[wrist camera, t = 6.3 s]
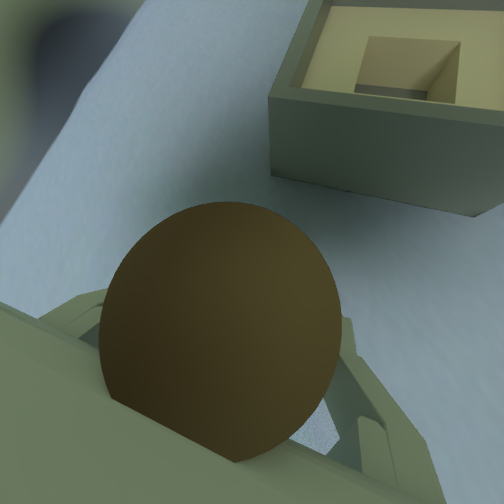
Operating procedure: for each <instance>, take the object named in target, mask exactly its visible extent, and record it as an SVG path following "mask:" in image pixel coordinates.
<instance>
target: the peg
mask: <svg viewBox="0 0 504 504" xmlns="http://www.w3.org/2000/svg"><path fill="white" fill-rule="evenodd" d="M341 338H342V315H341V307H340V299H339V296H338V292H337V288H336V284H335V281H334V279H333V276H332V274H331V271H330V269H329V267H328V265H327V263H326V261H325V260H324V258H323V256H322V254H321V253H320V252H319V250H318V249H317V247H316V246H315V245H314V243H313V242H312V241H311V240H310V239H309V238H308V237H307V236H306V235H305V234H304V233H303V232H302V231H301V230H300V229H299V228H298V227H296V226H295V225H294V224H293V223H291V222H290V221H288V220H287V219H285V218H284V217H282V216H280V215H279V214H276V213H274V212H272V211H270V210H268V209H265V208H262V207H259V206H255V205H252V204H246V203H241V202H213V203H207V204H202V205H198V206H194V207H191V208H188V209H185V210H183V211H181V212H178V213H176V214H174V215H172V216H170V217H168V218H167V219H165V220H163V221H162V222H160V223H159V224H157V225H156V226H155V227H153V228H152V229H151V230H150V231H148V232H147V233H146V234H145V235H144V236H143V237H142V238H141V239H140V240H139V241H138V242H137V243H136V244H135V245H134V246H133V247H132V248H131V250H130V251H129V252H128V254H127V255H126V256H125V258H124V259H123V261H122V262H121V264H120V266H119V267H118V269H117V271H116V272H115V274H114V277H113V279H112V281H111V283H110V285H109V288H108V291H107V293H106V296H105V299H104V303H103V307H102V312H101V316H100V325H99V355H100V363H101V369H102V373H103V376H104V380H105V384H106V386H107V389H108V391H109V394H110V396H111V399H113V400H115V401H117V402H119V403H121V404H123V405H125V406H127V407H129V408H130V409H132V410H134V411H136V412H138V413H140V414H142V415H144V416H146V417H148V418H149V419H151V420H153V421H155V422H157V423H159V424H161V425H163V426H165V427H167V428H168V429H170V430H172V431H174V432H176V433H178V434H180V435H182V436H184V437H186V438H188V439H189V440H191V441H193V442H195V443H197V444H199V445H201V446H203V447H205V448H207V449H208V450H210V451H212V452H214V453H216V454H218V455H220V456H222V457H224V458H226V459H227V460H229V461H231V462H233V463H236V462H240V461H244V460H247V459H251V458H254V457H256V456H258V455H261V454H263V453H265V452H267V451H270V450H271V449H273V448H275V447H276V446H278V445H279V444H281V443H282V442H284V441H285V440H287V439H288V438H289V437H290V436H291V435H293V434H294V433H295V432H296V431H297V430H298V429H299V428H300V427H301V426H303V424H304V423H305V422H306V421H307V419H308V418H309V417H310V416H311V415H312V413H313V412H314V411H315V410H316V408H317V407H318V405H319V403H320V402H321V400H322V398H323V397H324V395H325V393H326V391H327V389H328V387H329V384H330V382H331V380H332V377H333V375H334V372H335V368H336V365H337V361H338V358H339V353H340V346H341Z"/></svg>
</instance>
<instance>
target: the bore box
mask: <svg viewBox="0 0 504 504" xmlns="http://www.w3.org/2000/svg"><path fill="white" fill-rule="evenodd" d="M268 109H269V134H270V160H271V175H273V176H278V177H283V178H288V179H292V180H297V181H302V182H307V183H312V184H316V185H321V186H326V187H331V188H336V189H340V190H345V191H350V192H355V193H359V194H364V195H369V196H374V197H379V198H383V199H388V200H393V201H398V202H403V203H407V204H412V205H417V206H422V207H427V208H431V209H436V210H441V211H446V212H451V213H455V214H460V215H465V216H470V217H476V216H478V215H480V214H482V213H484V212H486V211H488V210H490V209H492V208H494V207H495V206H497V205H499V204H501V203H503V202H504V0H309V1H308V4H307V6H306V8H305V11H304V13H303V15H302V18H301V20H300V23H299V25H298V27H297V30H296V32H295V34H294V37H293V39H292V41H291V44H290V46H289V48H288V51H287V53H286V55H285V58H284V60H283V62H282V65H281V67H280V70H279V72H278V74H277V77H276V79H275V81H274V84H273V86H272V88H271V91H270V93H269V95H268Z"/></svg>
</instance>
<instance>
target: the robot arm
mask: <svg viewBox="0 0 504 504" xmlns="http://www.w3.org/2000/svg"><path fill="white" fill-rule="evenodd" d="M107 291H108V288H107V289H102V290H98V291H94V292H90V293H86V294H81V295H78V296H76V297H74V298H73V299H71V300H69V301H67V302H66V303H64V304H62V305H61V306H59V307H57V308H55V309H54V310H52V311H50V312H49V313H47V314H45V315H43V316H42V317H40V318H38V319H36V318H34V317H32V316H30V315H28V314H26V313H23V312H21V311H19V310H17V309H15V308H13V307H11V306H9V305H7V304H4V303H2V302H0V504H447V503H446V500H445V498H444V495H443V492H442V489H441V486H440V483H439V480H438V477H437V474H436V471H435V468H434V465H433V462H432V459H431V456H430V453H429V450H428V447H427V444H426V441H425V440H424V439H423V437H422V436H421V435H420V433H419V432H418V431H417V429H416V428H415V427H414V425H413V424H412V423H411V421H410V420H409V419H408V418H407V416H406V415H405V414H404V412H403V411H402V410H401V408H400V407H399V406H398V404H397V403H396V402H395V400H394V399H393V398H392V397H391V395H390V394H389V393H388V391H387V390H386V389H385V387H384V386H383V385H382V383H381V382H380V381H379V379H378V378H377V377H376V376H375V374H374V373H373V372H372V370H371V369H370V368H369V366H368V365H367V364H366V362H365V361H364V360H363V359H362V357H359V356H357V352H356V345H355V339H354V332H353V326H352V321H351V319H350V318H347V317H343V316H342V338H341V346H340V353H339V358H338V361H337V365H336V368H335V372H334V375H333V377H332V380H331V382H330V384H329V387H328V389H327V391H326V393H325V395H324V397H323V398H324V400H325V403H326V405H327V407H328V410H329V412H330V415H331V417H332V420H333V422H334V424H335V427H336V429H337V432H338V434H339V437H340V439H339V441H338V442H337V443H336V444H335V445H334V446H333V448H332V449H331V450H330V451H329V452H328V453H327V454H326V456H325V455H323V454H321V453H319V452H316V451H314V450H312V449H310V448H308V447H306V446H304V445H302V444H300V443H298V442H295V441H293V440H291V439H289V438H288V439H287V440H285V441H284V442H282V443H281V444H279V445H278V446H276V447H275V448H273V449H271V450H270V451H267V452H265V453H263V454H261V455H258V456H256V457H254V458H251V459H247V460H244V461H240V462H236V463H233V462H231V461H229V460H227V459H226V458H224V457H222V456H220V455H218V454H216V453H214V452H212V451H210V450H208V449H207V448H205V447H203V446H201V445H199V444H197V443H195V442H193V441H191V440H189V439H188V438H186V437H184V436H182V435H180V434H178V433H176V432H174V431H172V430H170V429H168V428H167V427H165V426H163V425H161V424H159V423H157V422H155V421H153V420H151V419H149V418H148V417H146V416H144V415H142V414H140V413H138V412H136V411H134V410H132V409H130V408H129V407H127V406H125V405H123V404H121V403H119V402H117V401H115V400H113V399H111V396H110V394H109V391H108V389H107V386H106V384H105V380H104V376H103V373H102V369H101V363H100V355H99V325H100V316H101V312H102V307H103V303H104V299H105V296H106V293H107Z"/></svg>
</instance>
